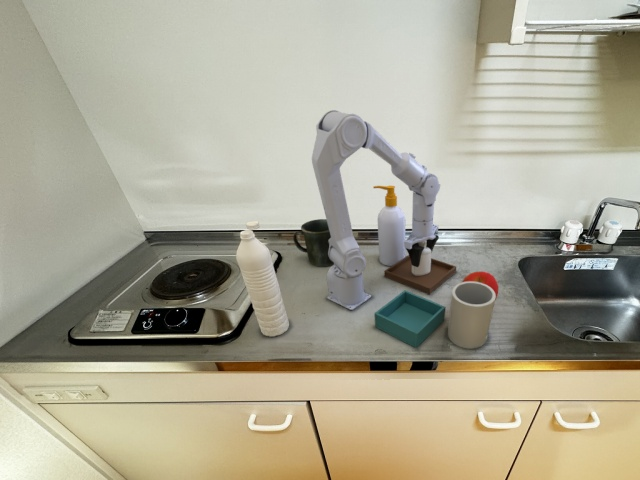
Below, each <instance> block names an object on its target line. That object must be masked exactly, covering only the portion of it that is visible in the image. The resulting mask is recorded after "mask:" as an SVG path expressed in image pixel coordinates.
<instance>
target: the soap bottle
mask: <svg viewBox="0 0 640 480" xmlns="http://www.w3.org/2000/svg"><path fill="white" fill-rule="evenodd" d="M372 188H373V189H381V190H385V191H386V192H387V193H386V194H385V196H384V202H385V203H384V204H385V205H384V207H382V208H381V209H380V211H379V213H378V214H377V237H378V239H377V240H378V257H379V259H378V260H379V262H380V263H381V264H382V265H384V266H389V267H391V266H393V265H394V264H396V263H397V262H399V261H400V260H402V259H403V258H405V257H406V248H404V241H405V240H406V216H405V215H406V214H405V212H404V211H403V210H402V208H401V207H399V206H398V195H396V193H395V189H396V186H395V185H374V186H373V187H372Z"/></svg>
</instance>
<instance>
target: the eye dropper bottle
mask: <svg viewBox="0 0 640 480" xmlns="http://www.w3.org/2000/svg"><path fill="white" fill-rule="evenodd" d="M426 242H427V241H426V240H425V241H421V242H418V244H419V246H422V247H424V249H423V251H422V254H421V258H420V264H419V267H415V266H412V273H413V275H415V276H422V275H426V274H428V273H430V269H431V258H432V254H431V249H430V248H428V247H426Z"/></svg>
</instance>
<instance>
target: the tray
mask: <svg viewBox="0 0 640 480" xmlns="http://www.w3.org/2000/svg"><path fill="white" fill-rule="evenodd" d="M383 273H384V274H383V275H384V276H383V277H384V278H386V279H389V280H391V281H394V282H397V283H399V284H402V285H404V286H406V287H409V288H412V289H413V290H416V291H419V292H421V293H424V294H426V295H431V294H432V293H433V292H435V291H437V289H439V287H441V286H442V285H443V284H444V283H446V281H448V280H449V279H450V278H451V277H452V276H454V275H455V274H456V273H457V266H456V265H453V264H450V263H447V262H445V261H441V260H438V259H435V258H432V257H431V269H430V273H428V274H426V275H422V276H415V275H413V273H412V263H411V259H410V256H409V254H408V255H407V256H406V255H405V258H403V259H402V260H400V261H399V262H397V263H396V264H394V265H393V266H389V267H388V268H386V269H385V270H384V271H383Z"/></svg>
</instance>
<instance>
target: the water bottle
mask: <svg viewBox="0 0 640 480" xmlns="http://www.w3.org/2000/svg"><path fill="white" fill-rule="evenodd" d="M245 226H246V229H245V230H242V231H240V232H239V234H240V237H239V238H240V242H239V244H238V247H237V250H236V252H235V259H236V262H237V265H238V267H239V270H240V273H241V276H242V278H243V282H244V284H245V287H246V291H247V294H248V297H249V300H250V303H251V304H252V308H253V310H254V314H255V317H256V321H257V323H258V327H259V329H260V331H261V334H262V335H263V336H265V337H277V336H280V335H283V334H284V333H286V332H287V331H288V330H289V328H290V322H289V317H288V315H287V311H286V310H287V309H286V306H285V304H284V299H283V297H282V292H281V290H280V284H279V281H278V278H277V274H276V271H275V267H274V264H273V263H274V262H273V260H272V255H271V251H270V250H269V248H268V246H267V245H265V244H264V243H263V242H261V241H260V240H259V239H258V238H257V237H255V236H256V234H255V233H254V231H253V230H258V229H260V226H261V225H260V222H259V221H257V220H251V221H247V222H246V223H245Z"/></svg>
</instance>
